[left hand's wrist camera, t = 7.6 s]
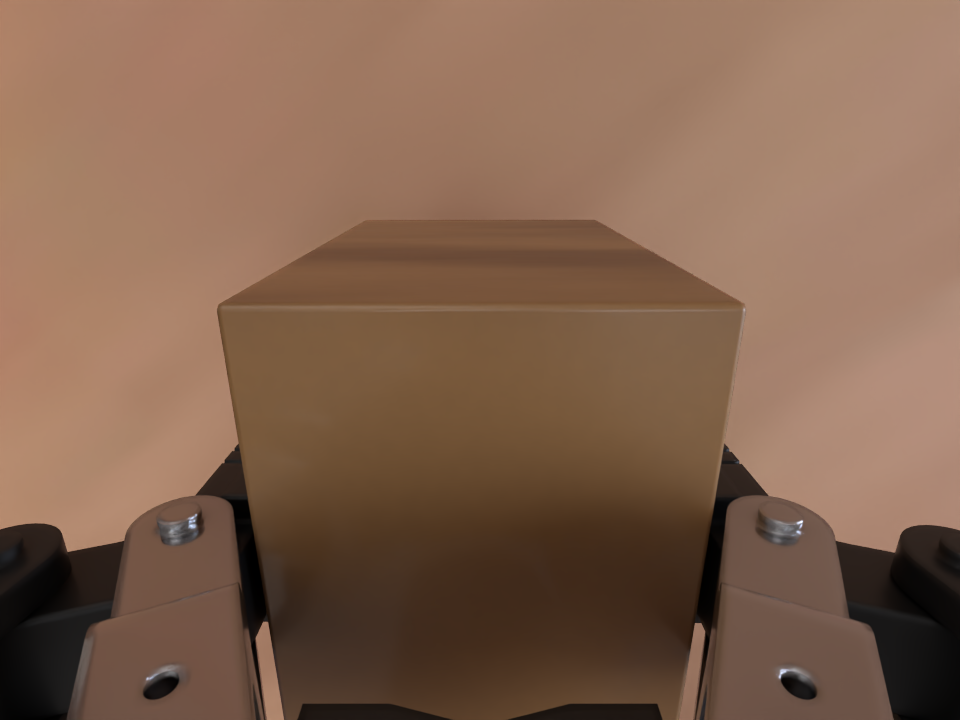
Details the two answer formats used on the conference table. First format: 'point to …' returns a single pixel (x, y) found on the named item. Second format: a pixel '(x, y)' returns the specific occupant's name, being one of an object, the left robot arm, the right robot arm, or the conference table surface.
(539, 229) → the bar
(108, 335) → the conference table surface
